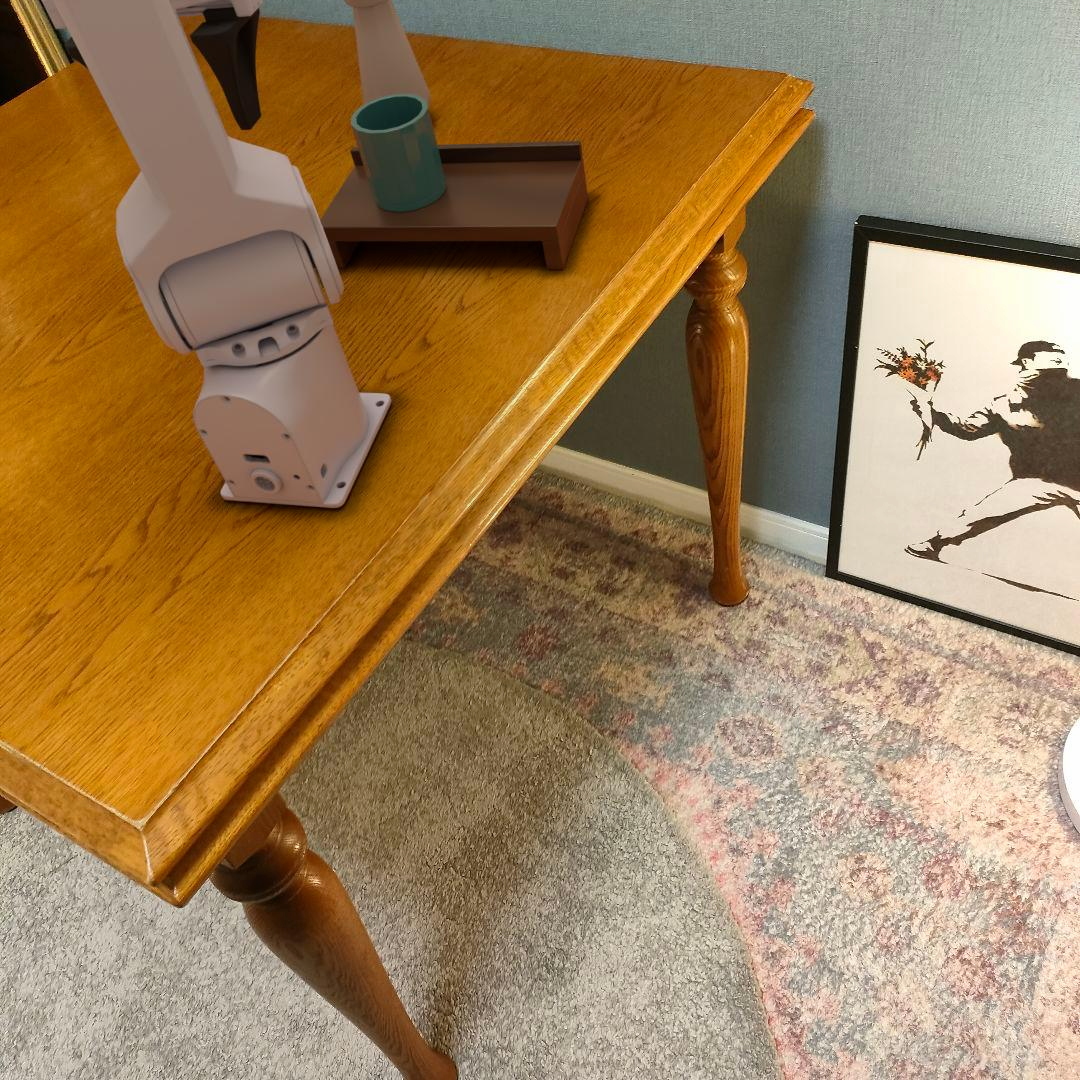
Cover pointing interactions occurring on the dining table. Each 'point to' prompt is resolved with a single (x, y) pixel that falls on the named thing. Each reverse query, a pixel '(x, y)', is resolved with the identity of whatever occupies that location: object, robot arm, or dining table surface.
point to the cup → (399, 152)
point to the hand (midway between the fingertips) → (203, 124)
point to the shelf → (474, 201)
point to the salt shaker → (385, 52)
